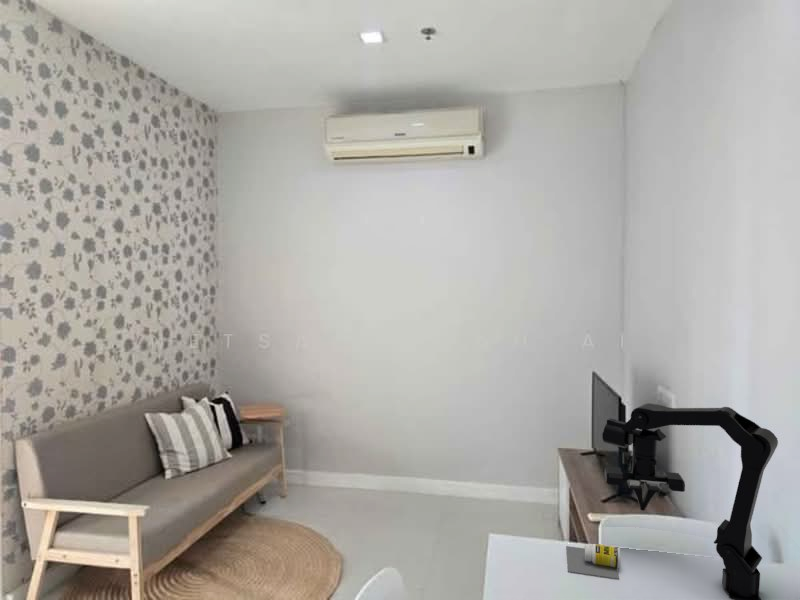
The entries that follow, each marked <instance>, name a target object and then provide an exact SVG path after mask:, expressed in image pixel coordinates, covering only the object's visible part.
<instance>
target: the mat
mask: <svg viewBox="0 0 800 600" xmlns="http://www.w3.org/2000/svg"><path fill="white" fill-rule="evenodd" d="M565 547H566V549H565V550H567V551H566V561H567V562H566V563H567V564H568V565H567V573H569V572H570V574H577V575H584V576H590V577H591V576H592V577H597V578H605V579H609V580H610V579H611V580H617V581H618V580H619V581H620V576H619V571H618V568H616V567H610V566H605V565H598V564H594V563H593V562H592V561H585V547H584V548H583V547H575V546H569V545H566V546H565Z"/></svg>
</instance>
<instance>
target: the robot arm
mask: <svg viewBox="0 0 800 600" xmlns="http://www.w3.org/2000/svg"><path fill="white" fill-rule="evenodd" d="M666 426H705V427H707V426H709V427H710V426H712V427H714V426H717V427H720V428H721V429H722V430H723V431H724V432H725V433H726V434H727V435H728V437H729V438H730V439H731V440H732V441H734V442H735V443H736V444H737V445H738V446H739V447H740V460H741V470H740V471H741V472H740V476H739V481H738V485H737V489H736V492H735V497H734V501H733V504H732V508H731V513H730V518H729V520H728V519H724V520H723V521H722V522H721V523H720V524H719V526H718V527H717V530H716V539H715V540H714V541H713V544H716V545H715V549H716V553H717V554H718V555H719V557H720V558H721V559H722V562H723V565H724V567H725V568H722V578H721V580H722V581H721V584H722V585H721V586H722V587H723V589H724V591H725V592H726V593H727V596H728V597H729V598H730V599H733V600H734V599H735V600H762V598H761V596H760V585H761V583H760V581H761V572H760V571H759V569H758V566H759V564H760V563H761V561H762V560H763V556H762V555H761V554H760V553H759V552H758V551H757V550H756V549H755V547H754V546H753V545H752V542H753V541H752V539H753V538H752V536H753V534H752V533H753V532H752V528H751V522H752V519H753V514H754V511H755V507H756V503H757V498H758V495H759V491H760V487H761V484H762V480H763V475H764V471H765V469H766V467H767V466H768V464H769V462H771V459H772V457H773V455H774V454H775V451H776V449H777V447H778V445H779V440H778V437H777V436H776V435H775V433H773V432H772V431H771V430H769V429H767V428H765V427H761V426H759V424H758V423H756V422H755V421H753V420H751V419H749V418H747V417H746V416H743V415H741V414H739V412H738V411H736V410H734V408H731V407H729V406H722V407H668V406H665V405H663V404H661V405H660V404H655V403H644V404H642V405H640V406H638V407H636V408H634V409H633V410H632V412H631V413H630V419H629V420H627V421H626V422H625V421H620V420H617V419H615V418H608V419H607V420H606V424H605V426H604V428H603V431H602V434H601V435H602V440H603V443H605V444H608V445H613V446H616V447H620V448H622V449H627V448H628V447H629V446H632V455H631V452H626V451H625V452H624V451H623V452H622V465H629V471H630V472H625V471H624V472H623V471H622V468H621V467H617V466H606V467H604V478H605V479H604V480H605V483H606V484H607V485H614V486H620V485H622V484H623V482H624V481H626V483H627V485H628V488H629V489H630V490H633V491H634V494H635V495H636V498H637V503H638V506H639V509H640V511H643V512H644V511H645V510H646V508H647V506H648V505H649V503H650V501H651V499H652V498H653V497H654V496H655V494H657V493H660V492H661V489H660V485H667V487H668V489H670V491H672V492H680V493H682V492H685V491H686V483H685V480H684V479H683V477H682V475H681V474H680V473H679V472H670V471H664V472H663V475H656V473H657V471H656V470H657V453H658V452H657V450H658V447H657V446H658V442H661V441H664V440H665V439H666V438H667V435H666V434H665V433H664V432H662V430H661V429H660V428H663V427H666ZM653 429H655V430H653ZM641 483H643V489H642V486H641Z"/></svg>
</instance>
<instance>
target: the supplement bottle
mask: <svg viewBox="0 0 800 600" xmlns="http://www.w3.org/2000/svg"><path fill="white" fill-rule="evenodd" d="M584 548H585V561H592V562H593V563H594V564H598V565H605V566H610V567H616V568H617V569H618V568H619V569H620V568H621V549H620V547H617V546H611V545H605V544H597V543H593V544H592V545H591V544H590V543H589V544H587V543H585V544H584Z"/></svg>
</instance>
